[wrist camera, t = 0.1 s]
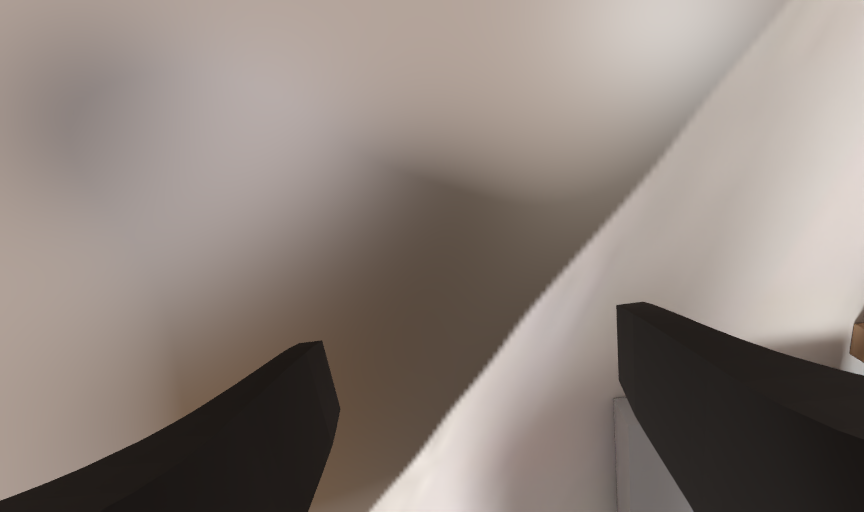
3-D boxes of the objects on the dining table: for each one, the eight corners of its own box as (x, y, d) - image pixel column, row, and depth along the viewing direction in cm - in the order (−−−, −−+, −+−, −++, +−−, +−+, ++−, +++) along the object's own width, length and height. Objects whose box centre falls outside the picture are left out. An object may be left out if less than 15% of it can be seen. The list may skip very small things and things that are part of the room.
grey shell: (806, 502, 24) (837, 536, 22) (617, 516, 25) (631, 550, 23) (824, 377, 21) (859, 403, 19) (613, 398, 22) (628, 425, 20)
